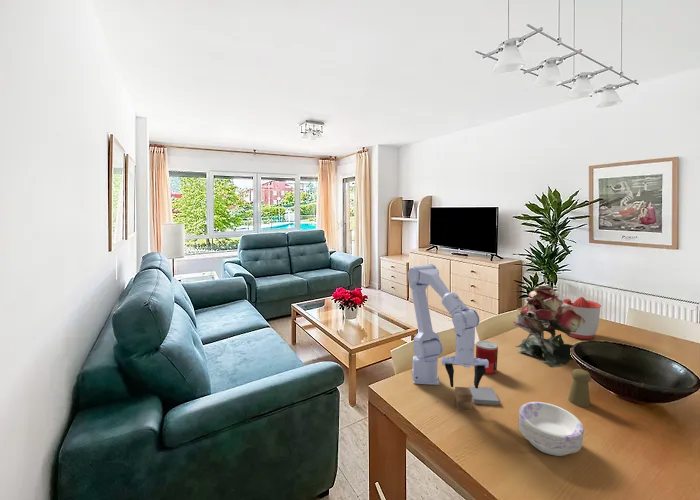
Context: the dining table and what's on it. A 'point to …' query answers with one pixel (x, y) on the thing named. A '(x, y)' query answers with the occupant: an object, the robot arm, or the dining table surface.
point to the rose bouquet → (547, 325)
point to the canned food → (488, 354)
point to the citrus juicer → (586, 317)
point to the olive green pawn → (580, 388)
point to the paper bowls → (550, 428)
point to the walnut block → (463, 398)
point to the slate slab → (484, 395)
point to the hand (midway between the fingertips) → (463, 386)
